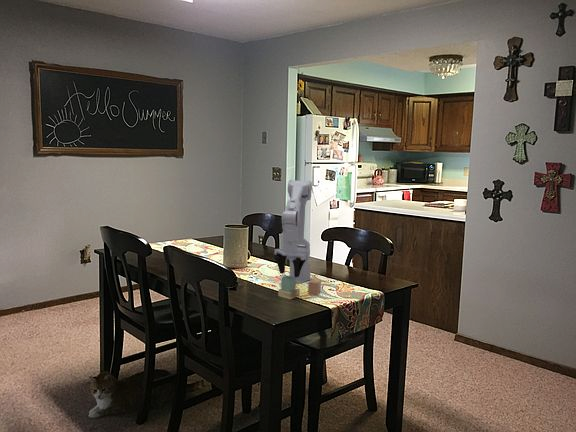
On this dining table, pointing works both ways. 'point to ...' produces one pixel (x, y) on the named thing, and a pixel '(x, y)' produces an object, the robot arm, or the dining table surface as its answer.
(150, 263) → the dining table surface
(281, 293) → the maple block
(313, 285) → the terracotta block
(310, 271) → the robot arm
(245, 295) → the dining table surface
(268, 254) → the dining table surface
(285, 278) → the teal block
